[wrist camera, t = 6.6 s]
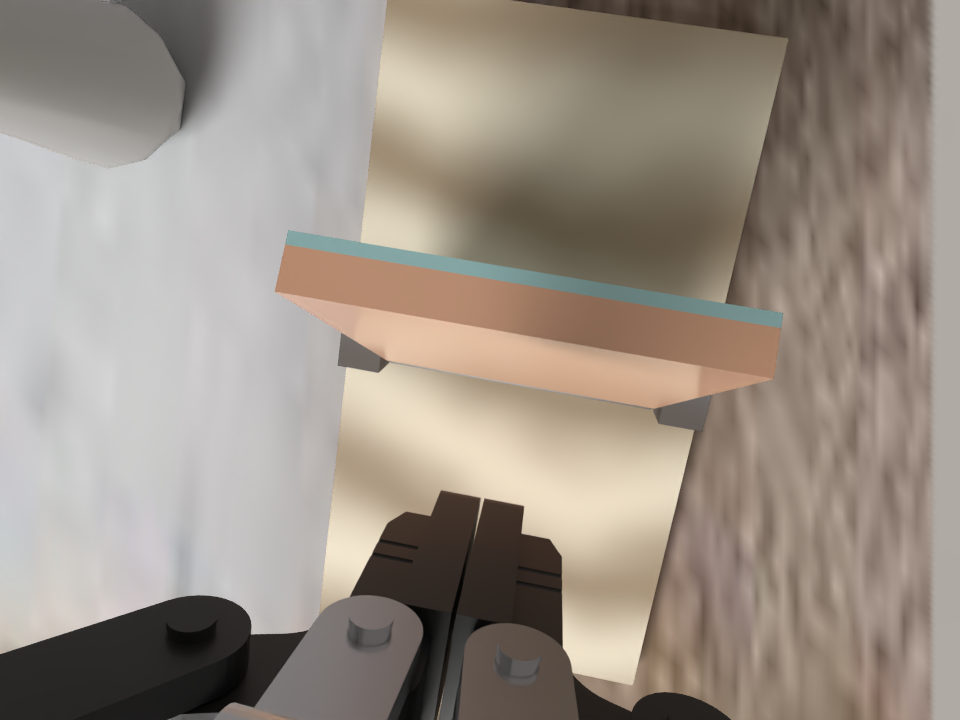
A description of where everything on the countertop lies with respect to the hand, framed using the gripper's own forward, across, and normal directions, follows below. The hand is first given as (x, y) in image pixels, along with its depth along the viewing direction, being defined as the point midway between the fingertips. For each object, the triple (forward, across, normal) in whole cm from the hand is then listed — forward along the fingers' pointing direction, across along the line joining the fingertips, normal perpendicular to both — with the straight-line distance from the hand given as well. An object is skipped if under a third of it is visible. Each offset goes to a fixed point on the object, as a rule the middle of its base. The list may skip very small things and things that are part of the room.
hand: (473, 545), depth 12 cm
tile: (+9, 0, -1) cm, 9 cm away
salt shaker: (+17, +17, -7) cm, 25 cm away
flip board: (+17, 0, +1) cm, 17 cm away
